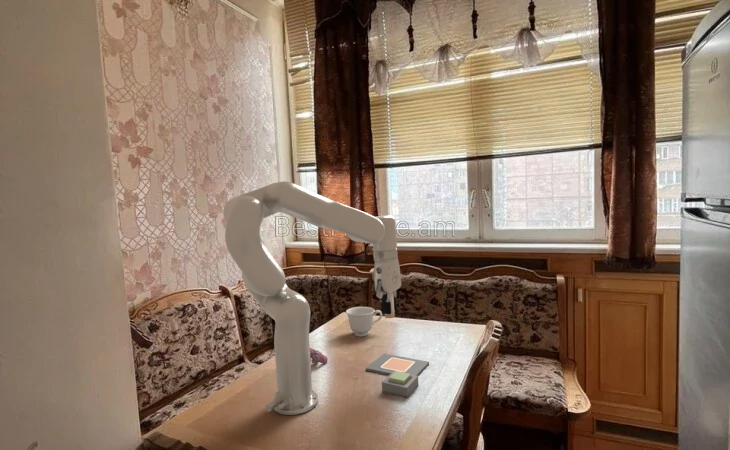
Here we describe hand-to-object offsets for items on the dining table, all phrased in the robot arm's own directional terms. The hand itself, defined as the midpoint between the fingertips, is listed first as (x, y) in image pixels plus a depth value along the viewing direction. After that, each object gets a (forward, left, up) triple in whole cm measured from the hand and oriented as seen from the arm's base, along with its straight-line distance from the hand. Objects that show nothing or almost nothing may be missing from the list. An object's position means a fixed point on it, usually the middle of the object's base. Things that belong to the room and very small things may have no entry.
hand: (389, 311), depth 125 cm
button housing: (-9, -7, -20) cm, 23 cm away
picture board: (+4, 0, -20) cm, 21 cm away
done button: (-9, -7, -18) cm, 21 cm away
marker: (0, 0, -2) cm, 2 cm away
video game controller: (-5, +28, -20) cm, 35 cm away
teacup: (+27, +26, -20) cm, 43 cm away
